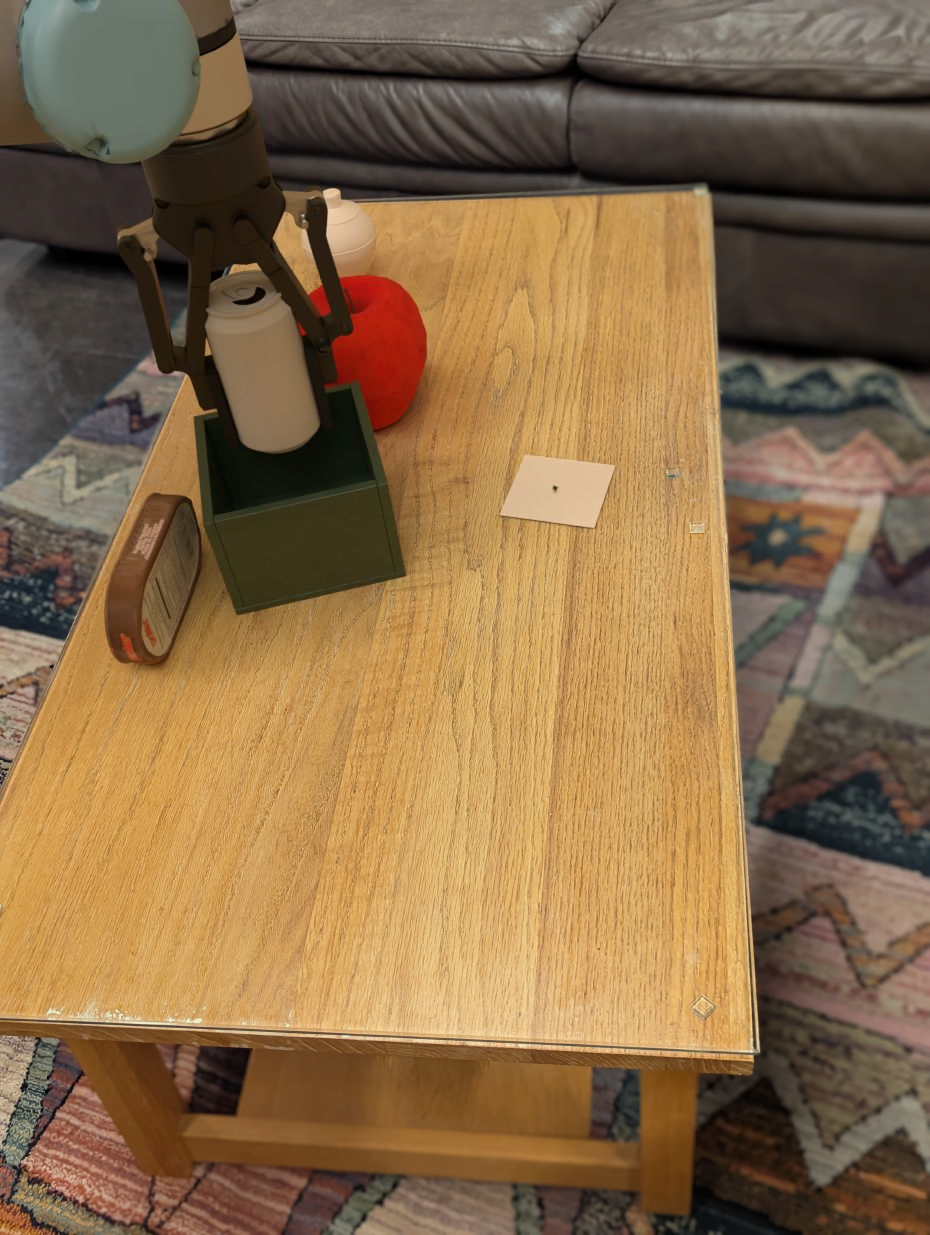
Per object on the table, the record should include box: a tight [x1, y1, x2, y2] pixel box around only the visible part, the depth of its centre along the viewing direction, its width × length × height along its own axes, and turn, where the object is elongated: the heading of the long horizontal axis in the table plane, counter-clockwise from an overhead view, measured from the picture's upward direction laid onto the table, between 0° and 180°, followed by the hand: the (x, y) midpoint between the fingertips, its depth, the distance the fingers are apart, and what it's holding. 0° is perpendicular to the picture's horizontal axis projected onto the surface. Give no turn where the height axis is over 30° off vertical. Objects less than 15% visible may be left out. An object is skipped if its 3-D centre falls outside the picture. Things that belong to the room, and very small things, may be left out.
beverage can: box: [205, 269, 321, 453], centre depth 77 cm, size 6×6×12 cm
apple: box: [298, 274, 428, 431], centre depth 95 cm, size 12×12×13 cm
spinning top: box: [300, 188, 378, 278], centre depth 110 cm, size 8×8×12 cm
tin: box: [103, 491, 203, 665], centre depth 82 cm, size 15×3×8 cm, turn 174°
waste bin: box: [193, 381, 407, 616], centre depth 86 cm, size 14×14×10 cm
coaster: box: [498, 454, 616, 529], centre depth 90 cm, size 8×8×1 cm
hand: (280, 428), depth 81 cm, fingers closed on beverage can, 6 cm apart
